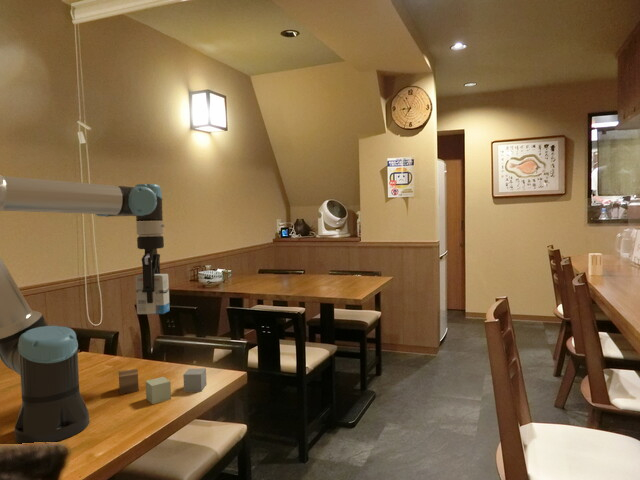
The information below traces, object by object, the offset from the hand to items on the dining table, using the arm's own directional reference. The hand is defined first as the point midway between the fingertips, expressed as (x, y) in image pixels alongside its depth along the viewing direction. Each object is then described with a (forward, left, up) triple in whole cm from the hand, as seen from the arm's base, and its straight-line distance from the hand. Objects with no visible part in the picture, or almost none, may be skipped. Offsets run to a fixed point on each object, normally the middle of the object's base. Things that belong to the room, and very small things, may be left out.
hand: (153, 311), depth 139 cm
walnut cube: (-8, +6, -21) cm, 23 cm away
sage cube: (-17, -4, -21) cm, 27 cm away
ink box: (0, 0, -1) cm, 1 cm away
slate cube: (-11, -13, -21) cm, 27 cm away
